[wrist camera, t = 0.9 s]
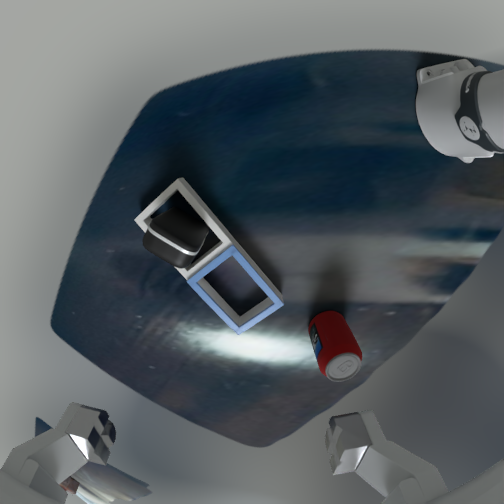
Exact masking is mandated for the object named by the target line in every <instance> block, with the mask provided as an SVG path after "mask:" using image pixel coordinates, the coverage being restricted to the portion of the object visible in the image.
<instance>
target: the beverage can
mask: <svg viewBox="0 0 504 504" xmlns="http://www.w3.org/2000/svg"><path fill="white" fill-rule="evenodd" d="M309 335H310V339H311V342H312V346H313V349H314V352H315V356H316V359H317V362H318V365H319V369H320V371H321V372H322V373H323V374H324V375H325V376H327V377H328V378H329V379H330V380H332V381H337V382H340V381H345V380H348V379H350V378H352V377H353V376H355V375H356V374H357V373H358V371H359V370H360V367H361V360H362V352H361V349H360V347H359V345H358V343H357V341H356V339H355V337H354V336H353V334H352V332H351V330H350V328H349V326H348V324H347V323H346V321H345V319H344V317H343V316H342V315H341V314H340V313H338V312H335V311H325V312H322V313H320V314H318V315H317V316H315V317H314V318H313V319H312V321H311V322H310V325H309Z"/></svg>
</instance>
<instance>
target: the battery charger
mask: <svg viewBox="0 0 504 504" xmlns="http://www.w3.org/2000/svg"><path fill="white" fill-rule="evenodd" d="M209 229H210V228H209V226H207V225H205V224H204V223H202V222H200V221H199V220H197V219H195V218H194V217H192V216H190V215H188V214H187V213H185V212H183V211H182V210H180V209H178V208H176V207H172V208H171V209H169V210H168V211H165V212H163V213H161V214H160V215H158V216H156V217H155V218H154V219H152V221H151V222H150V223H149V225H148V229H147V231H146V233H145V235H144V237H143V246H144V247H145V248H146V249H147V250H148V251H150V252H151V253H153V254H154V255H156V256H158V257H159V258H161V259H163V260H164V261H166V262H168V263H170V264H171V265H173V266H175V267H177V268H181V269H182V268H186V267H188V266H189V265H190V263H191V262H192V261H193V259H194V258H195V256H196V254H197V253H198V252H199V250H200V249H201V247H202V245H203V243H204V240H205V237H206V235H207V234H208V233H209Z"/></svg>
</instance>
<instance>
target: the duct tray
mask: <svg viewBox="0 0 504 504" xmlns="http://www.w3.org/2000/svg"><path fill="white" fill-rule="evenodd" d="M178 190H179V192H180V193H181V194H182V195H183V196H184V198H185V199H186V200H187V201H188V202H189V203H190V205H191V206H192V207H193V208H194V209H195V211H196V212H197V213H198V214H199V215H200V216H201V218H202V219H203V220H204V221H205V222H206V224H207V225H208V226H209V227H210V228H211V229H212V231H213V232H214V233H215V234H216V235H217V236H218V238H219V239H220V240H221V241H220V242H219V243H217V244H216V245H215V246H214V247H212V248H211V249H210V250H209V251H207V252H206V253H205V254H204V255H202V256H201V257H200V258H199V259H197V260H196V261H195V262H194V263H193V264H191V263H190V265H189V266H188V267H186V268H182V269H181V268H177V267H176V269H177V270H178V271H179V272H180V273H181V274H182V275H183V276H184V277H185V278H186V280H187V283H188V284H189V285H190V286H191V287H192V288H193V289H194V290H195V291H196V292H197V293H198V294H199V296H200V297H201V298H202V299H203V300H204V301H205V302H206V303H207V304H208V305H209V306H210V307H211V308H212V309H213V310H214V311H215V312H216V313H217V314H218V315H219V316H220V317H221V318H222V319H223V320H224V321H225V322H226V323H227V324H228V325H229V326H230V327H231V328H232V329H233V330H234V331H235V332H236V333H237V334H238V335H239V334H241V333H242V332H244V331H246V330H247V329H249V328H250V327H252V326H253V325H255V324H256V323H258V322H259V321H261V320H262V319H264V318H265V317H267V316H268V315H270V314H271V313H273V312H274V311H276V310H277V309H279V308H280V307H281V306H283V305H284V302H283V297H282V294H281V293H280V292H279V290H278V289H277V288H276V287H275V286H274V285H273V283H272V282H271V281H270V280H269V279H268V277H267V276H266V275H265V274H264V273H263V272H262V270H261V269H260V268H259V267H258V266H257V264H256V263H255V262H254V261H253V260H252V259H251V257H250V256H249V255H248V254H247V253H246V251H245V250H244V249H243V248H242V247H241V246H240V244H239V243H238V242H237V241H236V240H235V238H234V237H233V236H232V235H231V234H230V233H229V231H228V230H227V229H226V228H225V227H224V225H223V224H222V223H221V222H220V221H219V220H218V218H217V217H216V216H215V215H214V214H213V212H212V211H211V210H210V209H209V208H208V206H207V205H206V204H205V203H204V202H203V201H202V199H201V198H200V197H199V196H198V195H197V193H196V192H195V191H194V190H193V189H192V187H191V186H190V185H189V184H188V183H187V181H186V180H185V179H184V178H183V177H182V178H178V179H177V180H176V181H175V182H174V183H172V184H171V185H170V186H169V187H168V188H167V189H166V190H165V191H164V192H163V193H162V194H160V195H159V196H158V197H157V198H156V199H155V200H154V201H153V202H152V203H151V204H150V205H149V206H148V207H147V208H146V209H145V210H144V211H143V212H142V213H141V214H140V215H139V216H138V217H137V218H136V219H135V221H136V223H137V224H138V225H139V226H140V227H141V228H142V230H143V231H144V232H145V233H146V231H147V229H148V225H149V223H150V222H151V221H152V219H151V217H150V216H151V215H152V214H153V213H154V212H155V211H156V210H157V209H158V208H159V207H160V206H161V205H163V204H164V203H165V202H166V201H167V200H168V199H169V198H170V197H171V196H172V195H173V194H175V193H176V192H177V191H178ZM231 255H233V256H234V258H235V259H236V260H237V261H238V262H239V263H240V265H241V266H242V267H243V268H244V269H245V270H246V271H247V273H248V274H249V275H250V276H251V277H252V278H253V280H254V281H255V282H256V283H257V284H258V285H259V286H260V288H261V289H262V290H263V291H264V292H265V293H266V294H267V296H268V298H266V299H265V300H263V301H262V302H261V303H259V304H258V305H256V306H255V307H253V308H252V309H250V310H249V311H247V312H246V313H245V314H243V315H242V316H239V315H238V314H237V313H236V312H235V311H234V310H233V309H232V308H231V307H230V306H229V305H228V304H227V303H226V302H225V301H224V299H223V298H222V297H221V296H220V295H219V294H218V293H217V292H216V291H215V290H214V289H213V288H212V287H211V285H210V284H209V283H208V282H207V281H206V280H205V279H204V278H203V277H204V276H205V275H207V274H208V273H209V272H210V271H212V270H213V269H214V268H216V267H217V266H218V265H219V264H221V263H222V262H223V261H225V260H226V259H227V258H229V257H230V256H231Z"/></svg>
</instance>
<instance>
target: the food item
mask: <svg viewBox="0 0 504 504" xmlns="http://www.w3.org/2000/svg"><path fill="white" fill-rule="evenodd" d="M79 484H80V483H78V482H77V481H75V480H74V479H72V478H71V477H70V476H69V477H68V478H67V479H65V480H64V481H63V482H61V483H60V484H59V485H60V486H61V487H62V488H63V489H64V490H65V491H68V492H70V493H71V494H76V491H77V489H78V486H79Z"/></svg>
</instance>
